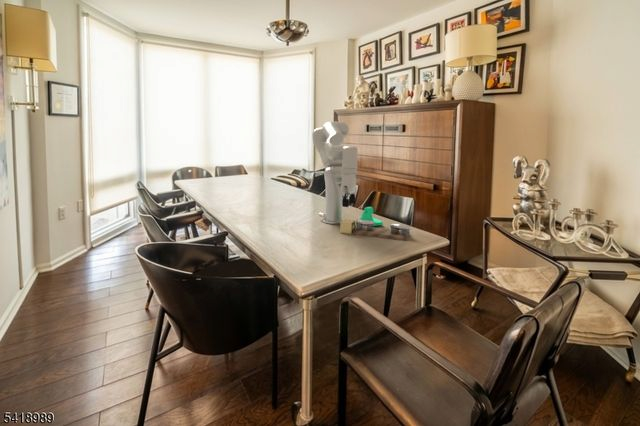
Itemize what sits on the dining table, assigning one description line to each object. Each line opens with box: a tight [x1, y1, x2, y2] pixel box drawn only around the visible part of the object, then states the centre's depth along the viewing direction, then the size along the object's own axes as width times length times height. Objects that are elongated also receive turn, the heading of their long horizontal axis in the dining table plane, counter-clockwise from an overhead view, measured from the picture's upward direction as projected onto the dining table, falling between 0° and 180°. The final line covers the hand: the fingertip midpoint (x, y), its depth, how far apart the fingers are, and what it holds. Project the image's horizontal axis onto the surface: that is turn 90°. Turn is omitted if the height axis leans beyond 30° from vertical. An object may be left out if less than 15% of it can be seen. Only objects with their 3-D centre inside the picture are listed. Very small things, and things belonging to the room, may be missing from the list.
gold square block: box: [339, 218, 356, 235], centre depth 185 cm, size 7×6×6 cm
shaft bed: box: [353, 226, 411, 241], centre depth 182 cm, size 26×11×2 cm, turn 66°
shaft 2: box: [389, 222, 411, 236], centre depth 178 cm, size 9×4×5 cm, turn 56°
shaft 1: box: [355, 219, 375, 231], centre depth 185 cm, size 9×4×5 cm, turn 76°
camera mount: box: [359, 206, 383, 227], centre depth 200 cm, size 12×8×10 cm, turn 24°
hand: (348, 205), depth 182 cm, fingers open, 9 cm apart
